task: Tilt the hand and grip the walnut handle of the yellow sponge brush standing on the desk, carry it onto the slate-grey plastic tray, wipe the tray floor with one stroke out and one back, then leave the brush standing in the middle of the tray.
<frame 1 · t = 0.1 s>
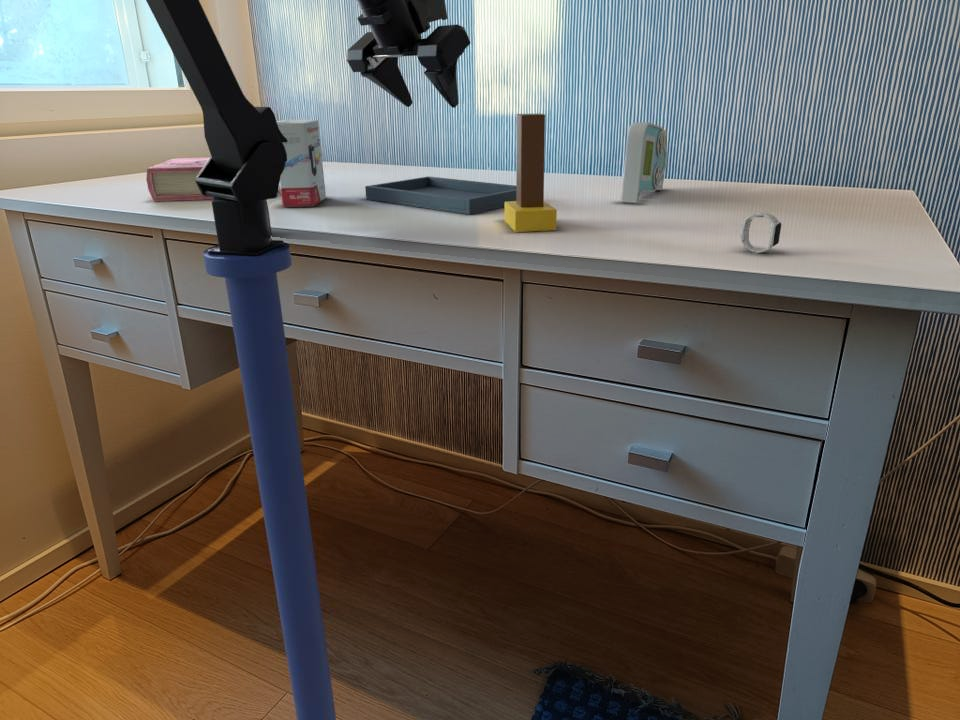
hand: (432, 105, 96), 14 cm above the table, tool tilted 35°, fingers open, 9 cm apart
ink box: (305, 203, 104), on the table
sponge brush: (529, 225, 85), on the table
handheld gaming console: (644, 196, 105), on the table
tray: (447, 200, 104), on the table
smartwatch: (758, 253, 70), on the table
book: (209, 193, 115), on the table
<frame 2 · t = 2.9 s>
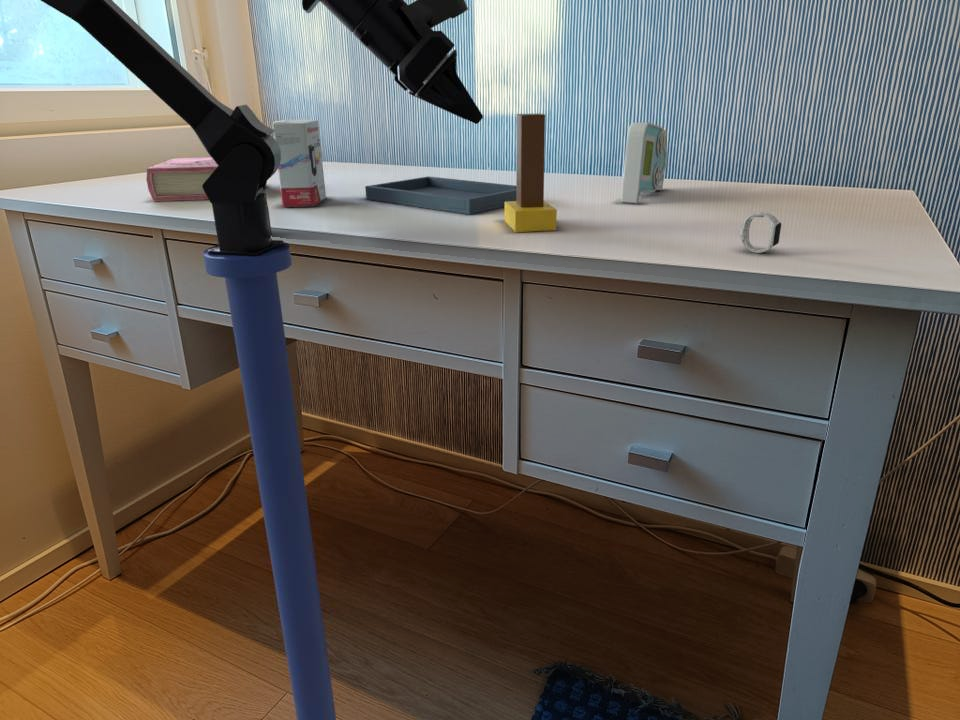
hand: (474, 118, 79), 13 cm above the table, tool tilted 45°, fingers open, 9 cm apart
nothing on the table moved.
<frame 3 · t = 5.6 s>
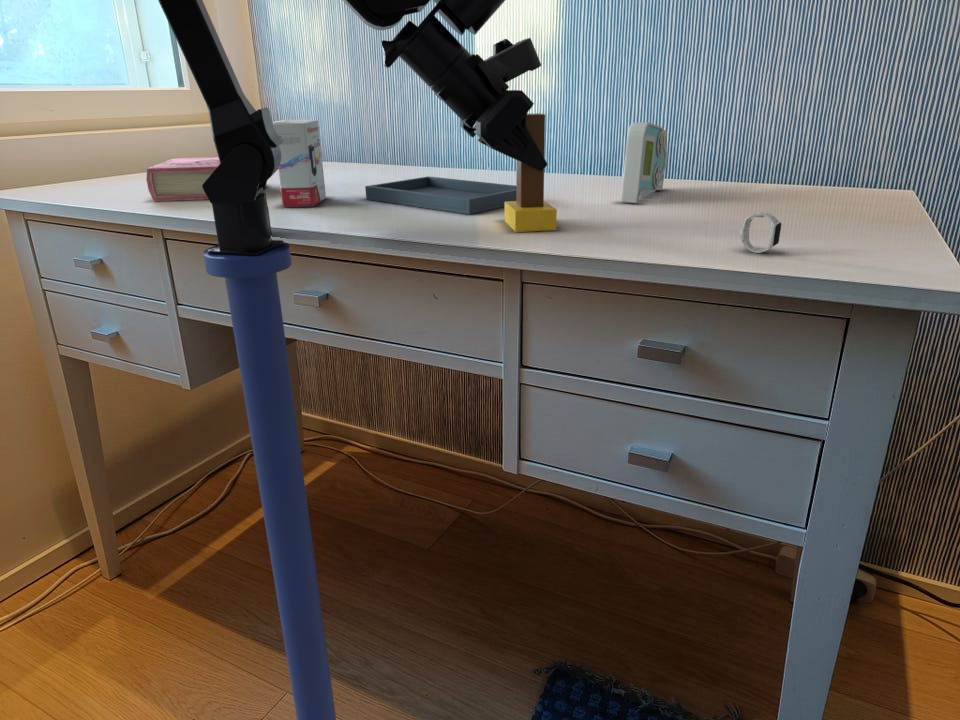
hand: (541, 166, 82), 7 cm above the table, tool tilted 45°, fingers closed on sponge brush, 3 cm apart
sponge brush: (529, 225, 85), on the table, touching gripper
everything else where it was.
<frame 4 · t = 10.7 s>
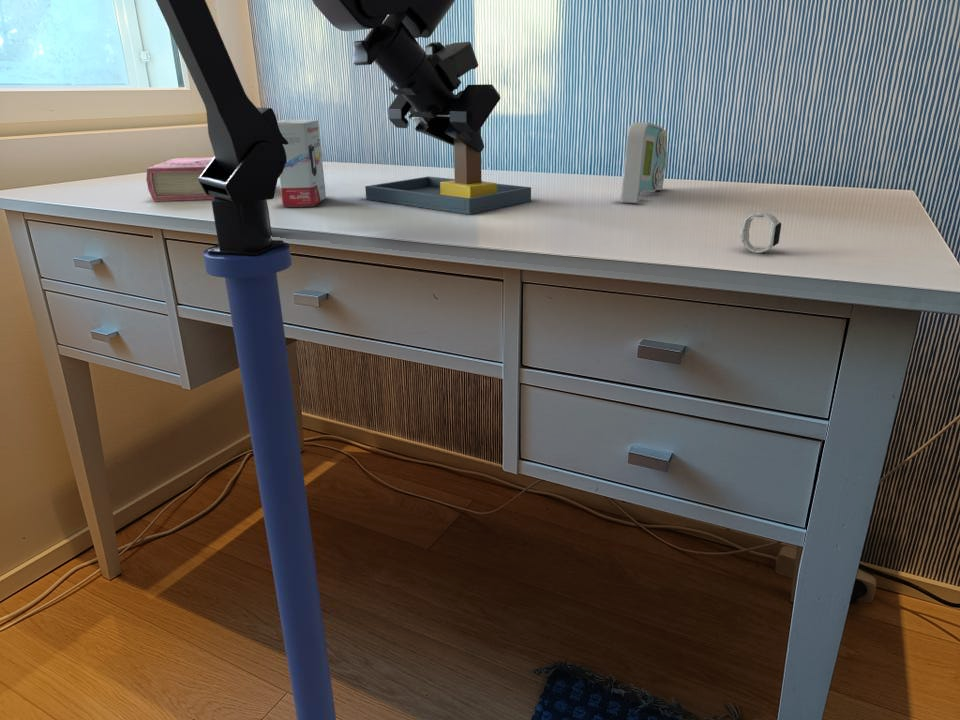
hand: (474, 149, 98), 8 cm above the table, tool tilted 45°, fingers closed on sponge brush, 3 cm apart
sponge brush: (468, 200, 100), point 1 cm above the table, touching gripper, tray
everything else where it was.
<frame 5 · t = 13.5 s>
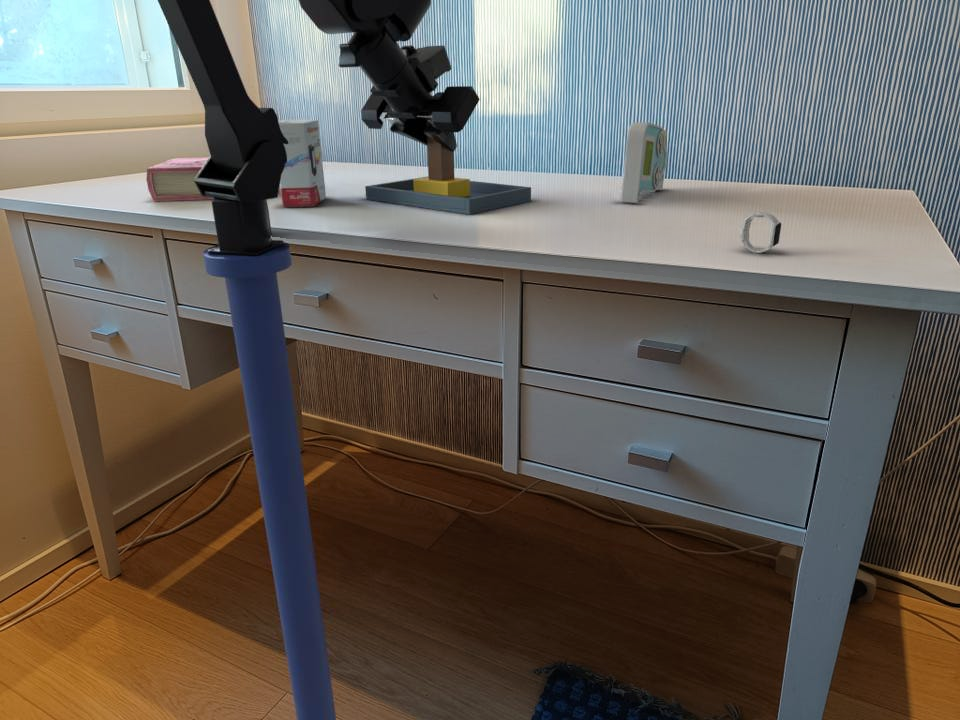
hand: (447, 148, 102), 7 cm above the table, tool tilted 45°, fingers closed on sponge brush, 3 cm apart
sponge brush: (442, 196, 104), point 1 cm above the table, touching gripper
everything else where it was.
when the fingers open (7 cm above the table, at t = 15.7 s): sponge brush stays where it is, resting on tray.
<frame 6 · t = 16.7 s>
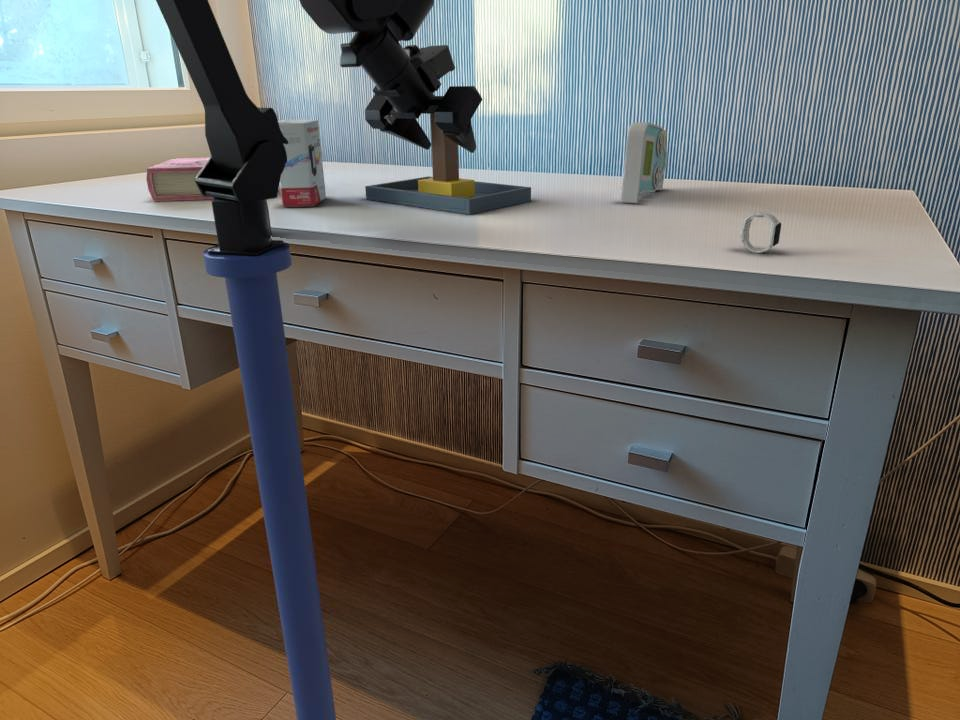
hand: (451, 148, 102), 7 cm above the table, tool tilted 45°, fingers open, 9 cm apart
sponge brush: (446, 196, 103), resting on tray
everything else where it was.
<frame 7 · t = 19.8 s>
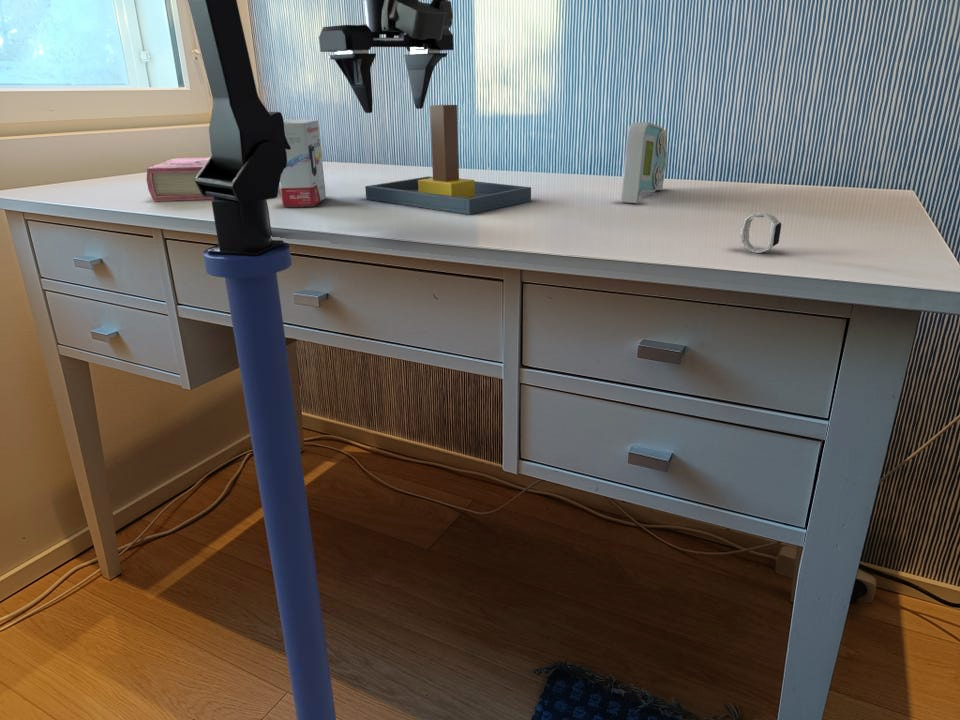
hand: (394, 110, 92), 13 cm above the table, tool pointing down, fingers open, 9 cm apart
nothing on the table moved.
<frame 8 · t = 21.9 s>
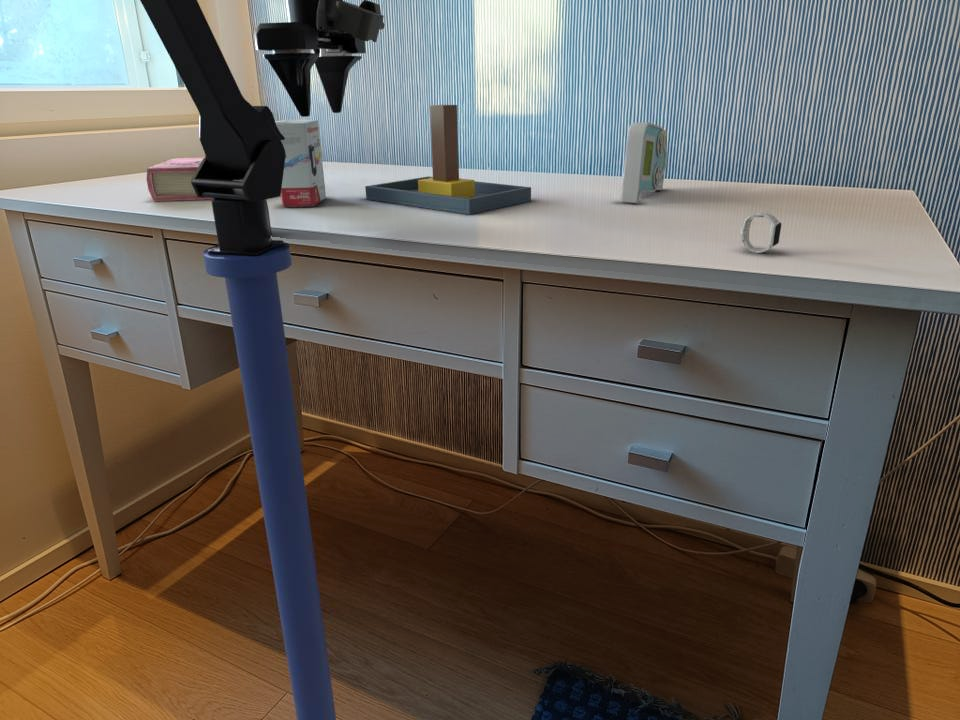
hand: (321, 114, 88), 13 cm above the table, tool pointing down, fingers open, 9 cm apart
nothing on the table moved.
at the end: sponge brush inside the target area in the tray (0.1 cm from its centre), point 0.5 cm above the tray's base; sponge brush tilted 0°; sponge brush moved 23.2 cm from its start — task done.
